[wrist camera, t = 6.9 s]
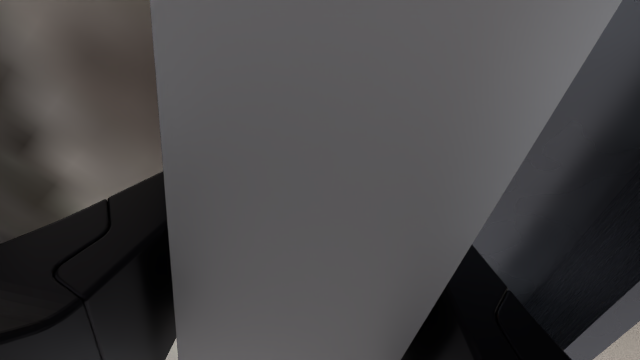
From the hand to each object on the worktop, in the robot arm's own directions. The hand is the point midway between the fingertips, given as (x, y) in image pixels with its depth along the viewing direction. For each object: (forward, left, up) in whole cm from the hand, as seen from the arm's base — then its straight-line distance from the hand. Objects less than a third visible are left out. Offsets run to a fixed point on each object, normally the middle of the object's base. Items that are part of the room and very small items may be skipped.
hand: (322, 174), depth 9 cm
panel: (0, 0, -1) cm, 1 cm away
